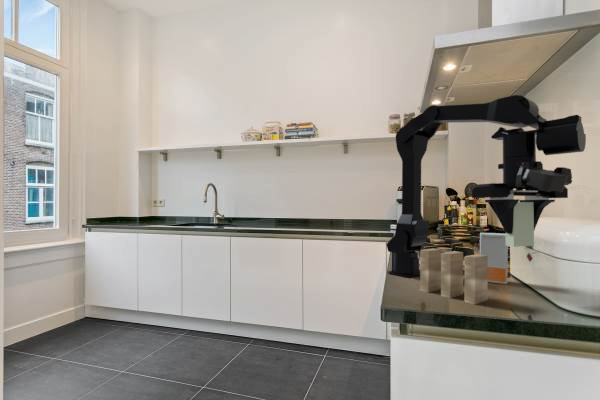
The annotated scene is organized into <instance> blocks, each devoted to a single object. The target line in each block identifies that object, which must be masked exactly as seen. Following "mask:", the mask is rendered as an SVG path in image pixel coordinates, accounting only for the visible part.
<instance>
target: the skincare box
mask: <svg viewBox="0 0 600 400" xmlns="http://www.w3.org/2000/svg"><path fill="white" fill-rule="evenodd" d="M479 255H487V256H488V269H487V283H494V284H499V285H501V284H502V285H507V284H508V273H509V272H508V271H509V270H508V264H509V263H508V262H509V260H508V259H509V246H506V233H500V232H499V233H498V232H497V233H496V232H480V233H479Z"/></svg>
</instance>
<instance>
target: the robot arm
mask: <svg viewBox="0 0 600 400" xmlns="http://www.w3.org/2000/svg"><path fill="white" fill-rule="evenodd" d="M443 123H490V124H491V123H492V124H498V125H501V126H500V127H499V128H498V129H497V131H496V132H494V133H493V134H491V137H490V138H491V139H494V140H497V141H502V163H499V164H497V169H498V170H502V183H501V182H500V183H499V182H498V183H496V182H495V183H493V182H492V183H481V184H480V183H479V184H475V185H474V186H473V188H472V189H471V198H472V199H485V200H484V203H487V204H488V205H489V207H490V208H491V209H492V211H493V212H494V213H495V215H496V216H497V217H496V218H497V219H498V220H499V223H500V224H501V226H502V228H503V229H504V232H505V234H506V233H507V234H512V230H513V216H514V207H515V205H516V204H517V203H518V202H534V231H535V230H536V227H537V224H538V222H539V221H540V220H539V219H540V217H541V214H542V212H543V211H544V209H545V208H546V207H548V206H549V205H550V204H551V203H555V202H556V199H568V196H569V193H568V192H569V191H568V190H569V189H568V188H567V187H566V186H569V185H571V184H572V182H573V180H572V179H573V174H572V168H568V167H563V166H561V167H560V166H558V167H555V168H554V170H552V169H551V170H550V169H549V170H548V169H545V168H544V167H543V163H542V161H537V155H536V153H537V152H536V150H538V151H539V152H542V153H543V154H544V155H545V156H552V155H563V154H571V153H572V154H573V153H580V152H581V153H583V152H584V151H585V149H586V142H587V136H586V134H585V129H584V126H583V125H584V124H583V122H582V116H581V115H578V114H573V115H569V116H566V117H563V118H556V119H550V120H547V119H546V118H544V117H543V116H542V115H540V109H539V106H538V104H536V102H534V101H533V100H530V99H529V98H527V97H525V96H524V95H520V94H514V95H513V94H512V95H509V96H505V97H499V98H496V99H494V100H492V101H489V102H485V103H470V104H469V103H466V104H452V105H451V104H448V105H446V104H445V105H436V104H434V105H429V106H427V108H426V109H425V110H423V111H422V113H420V114H418V115H417V116H415V117H413V118H411V119H410V120H409V121H408V122H407V123H406V124H404V126H402V127H400V128H399V130H398V131H397V132H396V133H395V134H396V135H395V145H396V150H397V154H398V155H399V157H400V159H401V162H402V163H401V164H402V165H401V168H402V170H401V173H402V174H401V214H400V216H399V218H398V220H397V222H396V225H395V230H394V231H395V233H394V235H393V236H392V237H391V239H389V240H388V242H387V243H386V249H387V252H389V253H391V270H388V271H387V273H388V274H392V275H396V276H399V277H403V278H404V277H405V278H410V277H414V276H419V275H420V258H419V252H420V250H423V246H424V244H425V243H426V242H427V241H428V237H429V236H430V235H431V234H430V230H429V229H430V221H429V220H426V219H424V217H423V215H422V160H423V158H424V156H425V154H426V152H427V149H428V142H429V140H430V139H432V138H433V137H434V136H435V135H436V134H437V132H438V130H439V128H440V126H441V125H443ZM502 126H507V127H513V128H512V129H506V128H505V127H502ZM527 127H530V128H533V129H532V130H525V129H524V128H527ZM515 196H516V197H517V196H518V197H524V199H520V198H519V199H518V198H517V199H516V198H515V199H514V197H515ZM486 198H489V199H486Z"/></svg>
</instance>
